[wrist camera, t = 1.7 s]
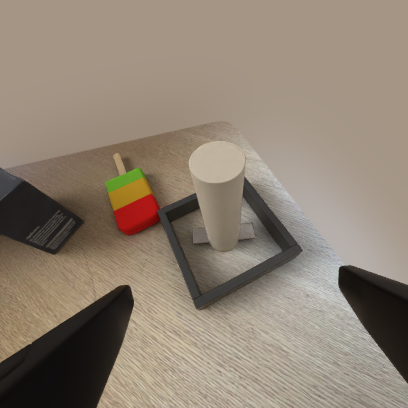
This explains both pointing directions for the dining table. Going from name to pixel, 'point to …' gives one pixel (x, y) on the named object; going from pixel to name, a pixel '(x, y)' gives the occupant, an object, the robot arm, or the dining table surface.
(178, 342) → the dining table surface
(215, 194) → the white tall round cylinder
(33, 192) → the box
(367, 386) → the dining table surface
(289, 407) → the dining table surface
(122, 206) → the popsicle
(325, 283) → the dining table surface
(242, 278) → the grey picture frame
